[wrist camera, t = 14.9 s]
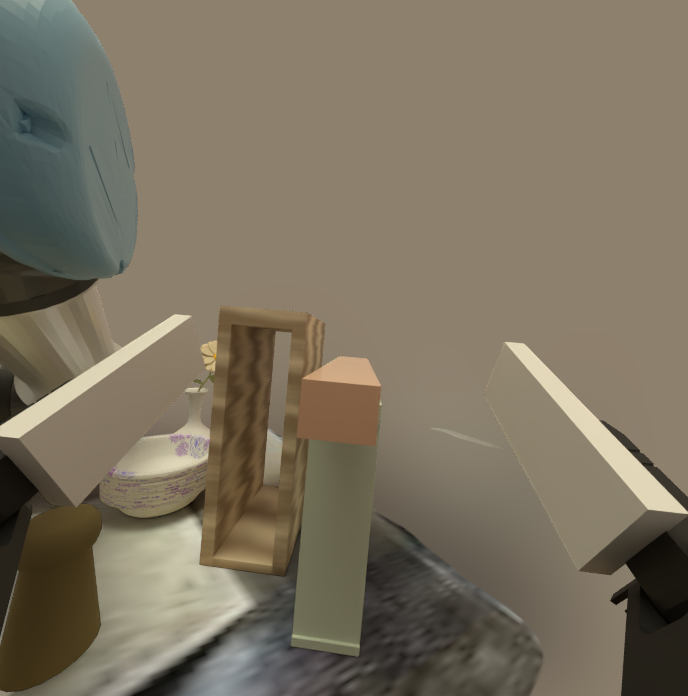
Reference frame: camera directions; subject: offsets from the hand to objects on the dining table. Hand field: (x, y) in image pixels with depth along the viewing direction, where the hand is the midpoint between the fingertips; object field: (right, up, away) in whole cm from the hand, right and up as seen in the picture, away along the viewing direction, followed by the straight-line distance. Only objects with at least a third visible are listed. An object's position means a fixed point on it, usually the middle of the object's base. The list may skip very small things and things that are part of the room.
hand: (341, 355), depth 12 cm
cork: (-24, -24, +11) cm, 36 cm away
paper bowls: (-29, -24, +31) cm, 48 cm away
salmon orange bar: (0, -4, +15) cm, 15 cm away
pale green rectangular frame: (-1, -26, +20) cm, 33 cm away
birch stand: (-11, -25, +27) cm, 39 cm away
